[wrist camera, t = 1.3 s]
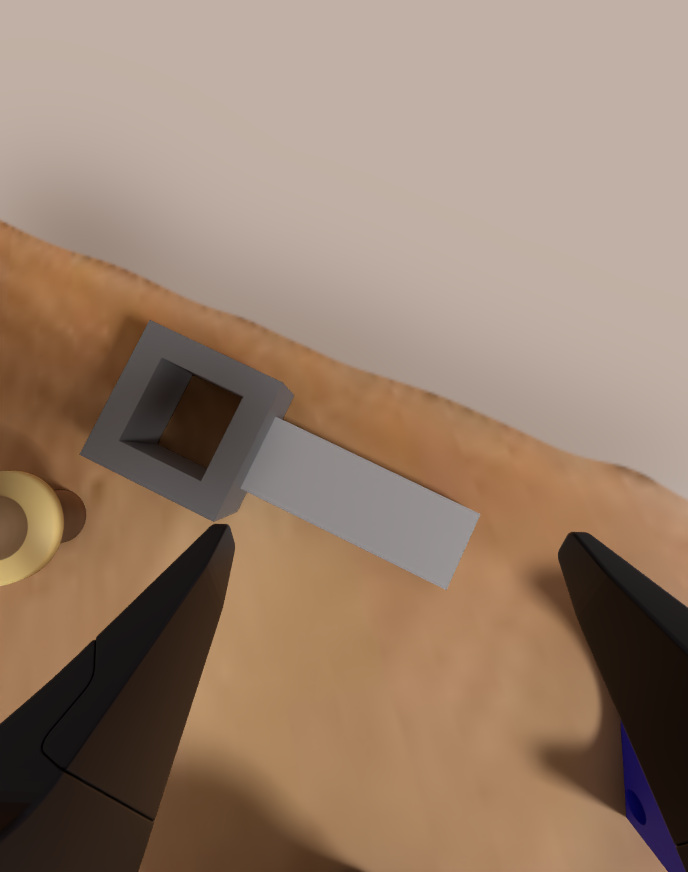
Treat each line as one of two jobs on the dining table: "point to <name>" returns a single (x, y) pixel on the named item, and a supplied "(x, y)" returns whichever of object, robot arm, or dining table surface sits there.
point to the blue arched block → (646, 810)
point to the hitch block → (268, 461)
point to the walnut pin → (33, 523)
